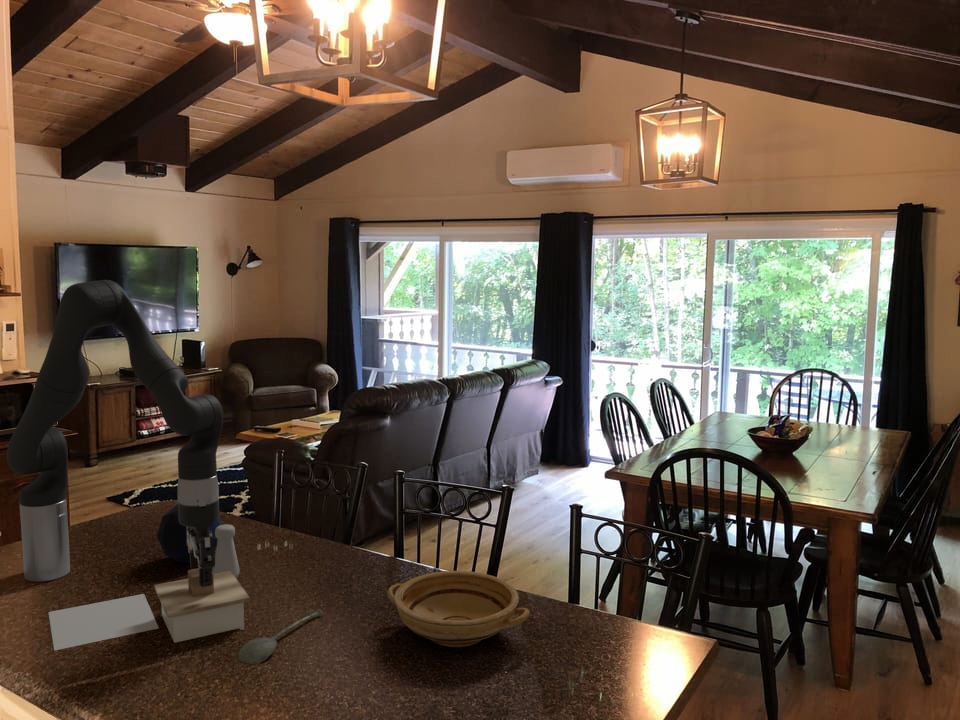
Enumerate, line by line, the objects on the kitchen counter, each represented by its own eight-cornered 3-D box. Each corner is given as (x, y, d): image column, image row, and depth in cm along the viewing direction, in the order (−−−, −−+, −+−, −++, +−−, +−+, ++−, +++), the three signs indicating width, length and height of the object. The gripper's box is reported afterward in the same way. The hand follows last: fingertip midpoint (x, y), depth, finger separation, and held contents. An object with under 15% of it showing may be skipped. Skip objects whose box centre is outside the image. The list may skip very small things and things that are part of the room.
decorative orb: (208, 520, 203) (174, 483, 194) (246, 533, 195) (213, 494, 186) (169, 567, 195) (132, 530, 186) (207, 582, 187) (170, 544, 178)
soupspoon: (229, 664, 146) (257, 674, 143) (229, 647, 146) (256, 657, 143) (307, 612, 165) (333, 621, 162) (307, 597, 165) (333, 605, 162)
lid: (154, 588, 161) (153, 565, 160) (230, 574, 169) (229, 552, 168) (168, 618, 148) (167, 593, 147) (249, 601, 156) (249, 577, 155)
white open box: (162, 618, 161) (160, 589, 160) (227, 604, 168) (227, 577, 167) (174, 645, 150) (173, 615, 149) (244, 629, 157) (243, 600, 156)
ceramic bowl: (547, 621, 162) (548, 584, 161) (504, 679, 140) (505, 636, 139) (417, 595, 174) (417, 560, 173) (358, 645, 151) (358, 605, 150)
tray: (48, 614, 162) (48, 612, 162) (144, 596, 171) (144, 593, 171) (54, 653, 147) (54, 650, 147) (158, 631, 156) (158, 628, 156)
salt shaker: (231, 588, 176) (229, 531, 174) (207, 586, 177) (205, 529, 175) (244, 578, 181) (243, 523, 180) (221, 576, 182) (219, 520, 181)
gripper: (171, 491, 160) (174, 569, 162) (185, 511, 148) (188, 595, 150) (209, 485, 164) (212, 562, 166) (227, 505, 152) (229, 587, 154)
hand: (201, 577), depth 158 cm, fingers open, 8 cm apart
